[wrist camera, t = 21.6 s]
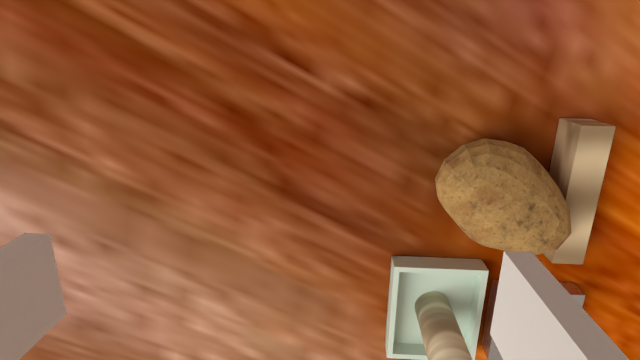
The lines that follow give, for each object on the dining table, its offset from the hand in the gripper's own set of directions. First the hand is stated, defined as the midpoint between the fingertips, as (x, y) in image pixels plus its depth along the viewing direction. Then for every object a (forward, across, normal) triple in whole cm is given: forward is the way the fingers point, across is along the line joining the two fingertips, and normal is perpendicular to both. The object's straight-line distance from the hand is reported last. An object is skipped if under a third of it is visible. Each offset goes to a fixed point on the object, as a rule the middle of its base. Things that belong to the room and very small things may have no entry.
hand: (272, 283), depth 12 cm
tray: (+32, +13, -22) cm, 41 cm away
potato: (+32, +18, -7) cm, 37 cm away
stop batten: (+32, +25, -7) cm, 41 cm away
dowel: (+31, +13, -22) cm, 40 cm away
